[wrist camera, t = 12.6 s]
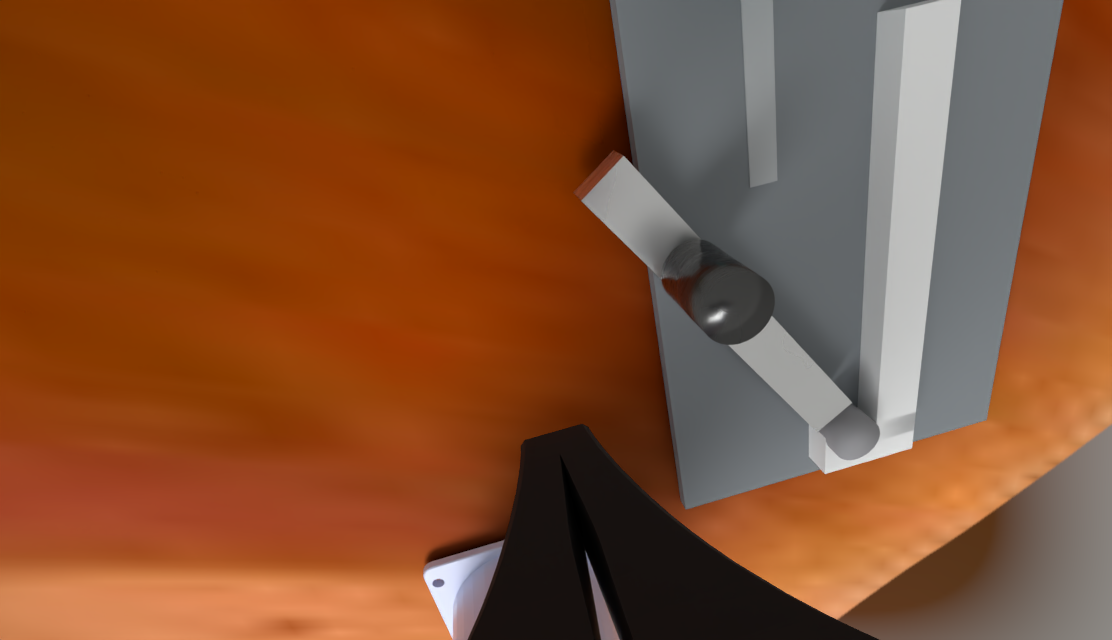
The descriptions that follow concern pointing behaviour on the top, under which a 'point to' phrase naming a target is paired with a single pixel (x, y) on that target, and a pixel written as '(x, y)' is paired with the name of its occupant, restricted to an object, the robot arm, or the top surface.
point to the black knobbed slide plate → (710, 287)
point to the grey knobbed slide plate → (838, 209)
